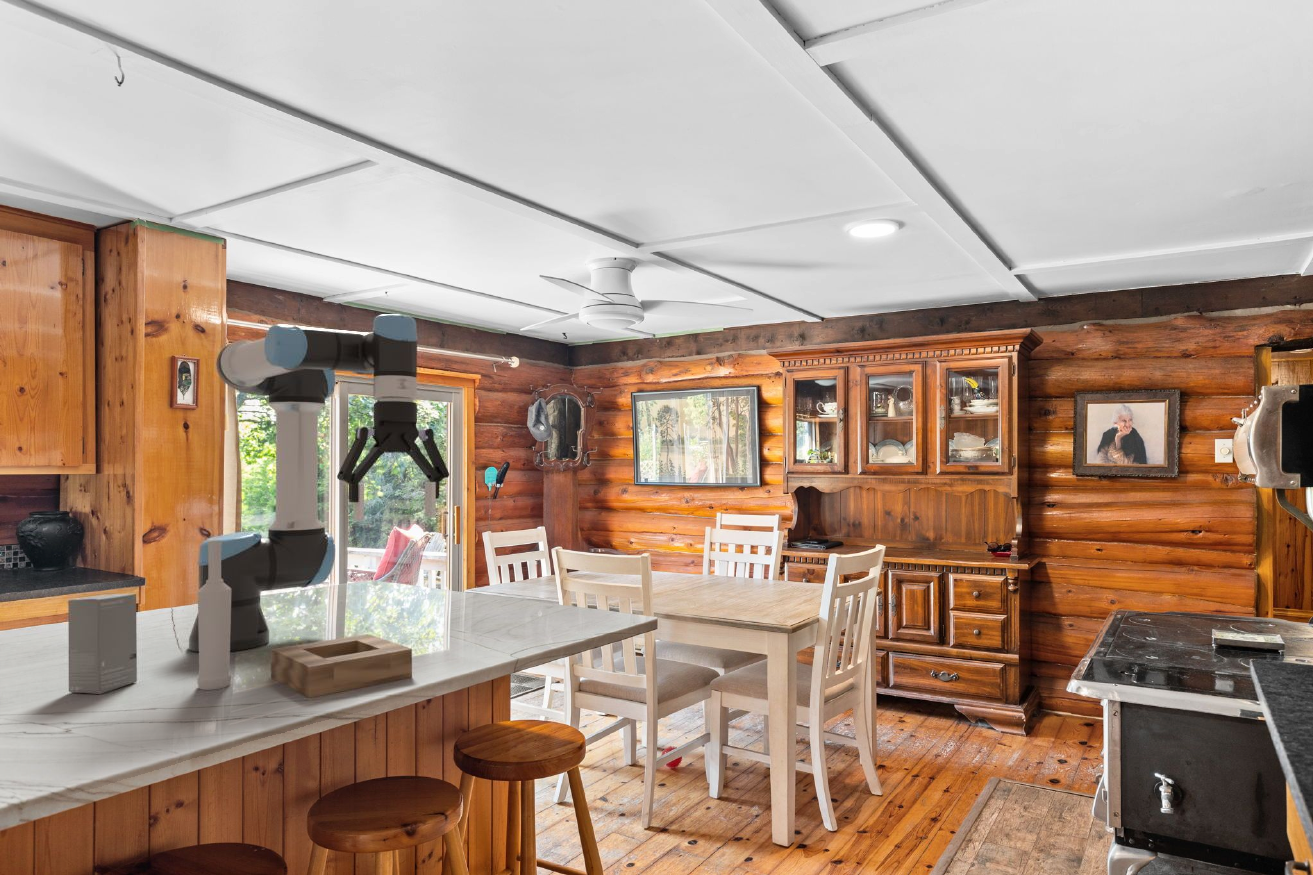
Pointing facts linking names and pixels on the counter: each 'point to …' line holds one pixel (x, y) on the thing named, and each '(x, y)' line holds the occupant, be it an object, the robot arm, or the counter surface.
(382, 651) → the frame
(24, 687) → the counter surface
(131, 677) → the skincare box
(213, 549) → the bottle
